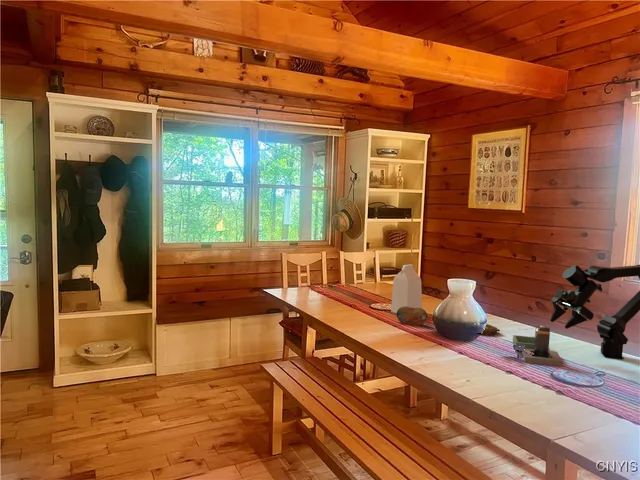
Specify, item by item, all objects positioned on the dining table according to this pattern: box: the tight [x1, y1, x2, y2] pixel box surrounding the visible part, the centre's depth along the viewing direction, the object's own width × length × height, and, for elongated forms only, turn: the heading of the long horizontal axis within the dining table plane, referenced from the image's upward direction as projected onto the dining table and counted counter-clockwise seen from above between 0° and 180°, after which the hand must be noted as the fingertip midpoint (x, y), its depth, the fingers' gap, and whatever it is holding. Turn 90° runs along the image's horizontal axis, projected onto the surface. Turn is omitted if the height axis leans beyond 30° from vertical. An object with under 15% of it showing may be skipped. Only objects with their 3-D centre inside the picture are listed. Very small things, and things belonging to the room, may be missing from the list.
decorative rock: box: [482, 323, 501, 337], centre depth 211 cm, size 11×4×15 cm
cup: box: [512, 334, 535, 349], centre depth 187 cm, size 11×11×4 cm
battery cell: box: [534, 325, 551, 358], centre depth 174 cm, size 5×5×13 cm
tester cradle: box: [523, 348, 564, 367], centre depth 174 cm, size 13×11×2 cm
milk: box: [390, 264, 423, 314], centre depth 242 cm, size 12×12×26 cm
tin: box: [396, 306, 428, 326], centre depth 221 cm, size 15×3×8 cm, turn 62°
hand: (558, 324), depth 176 cm, fingers open, 9 cm apart
